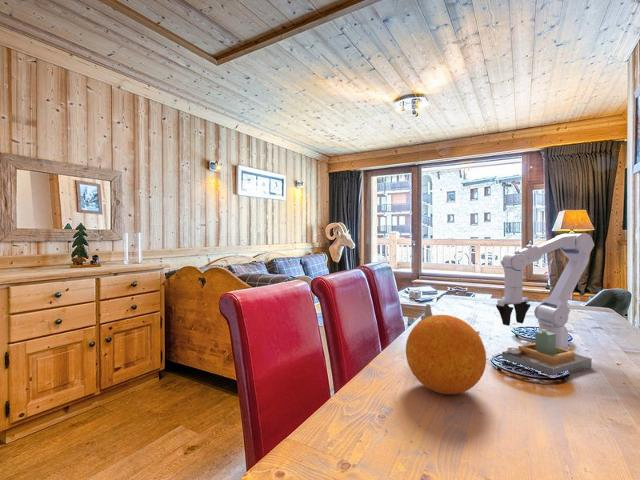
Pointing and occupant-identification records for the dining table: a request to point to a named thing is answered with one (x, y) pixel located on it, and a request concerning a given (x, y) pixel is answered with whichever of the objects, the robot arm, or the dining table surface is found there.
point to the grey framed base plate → (547, 359)
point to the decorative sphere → (445, 354)
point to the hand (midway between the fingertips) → (513, 323)
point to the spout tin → (545, 342)
